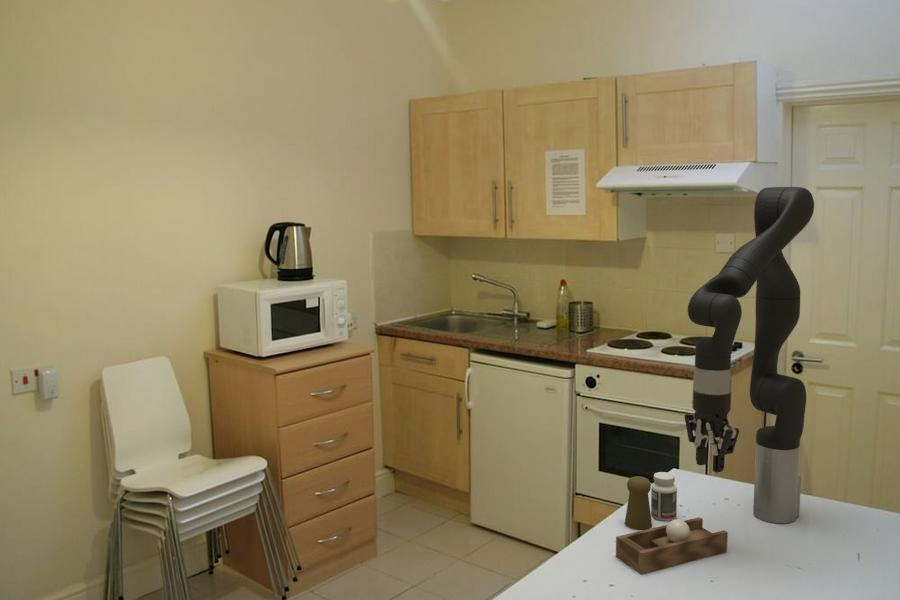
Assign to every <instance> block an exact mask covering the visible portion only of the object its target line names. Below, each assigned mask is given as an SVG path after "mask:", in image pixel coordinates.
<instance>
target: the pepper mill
mask: <svg viewBox="0 0 900 600" xmlns="http://www.w3.org/2000/svg"><path fill="white" fill-rule="evenodd" d="M626 486H627V490H628V492H629V493H628V501H627V505H626V506H627V507H626V512H625V518H624V519H625V521H624V525H625V527H626V528H628V529H630V530H634V531H643V530H647V529H651V528H652V526H653V523H652V515H651V504H650V497H649V493H650V492H651V488H652V484H651V481H650V479H648V477H647V478H646V477H644V476H638V475H636V476H632V477H630V478H628V480H627V483H626Z"/></svg>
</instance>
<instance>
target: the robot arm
mask: <svg viewBox="0 0 900 600" xmlns="http://www.w3.org/2000/svg"><path fill="white" fill-rule="evenodd" d="M814 199H815V198H814V196H813V194H812V193H811V191H810V190H809V189H807V188H805V187H802V186H773V187H771V186H770V187H764V188H762V189H761V190H760V191H759V192H758V193H757V195H756V198H755V202H754V208H753V209H754V210H753V211H754V212H753V215H754V217H753V219H754V234H755V237H754V238H753V239H751V240H749V241H748V242H746V243H744V244H743V245H742V246H739V248H738V249H737V250H736V251H734V252H733V253H732V254H731V256H730V257H729V259H728V260H727V261H726V263H725V264H724V266H723V267H722V268H721V269H720V271H719V272H718V274H716V275H714V277H712V278H711V279H709V280H708V281H706V283H705V284H703V285H702V286H701V287H699V288H698V289H697V290H696V291H695V292H694V293H693V294H692V296H691V298H690V299H689V302H688V304H687V316H688V318H689V320H690V321H691V322H692V323H693V324H694V325H698V326H703V327H709V328H714V331H713V334H712V336H710V337H709V336H708V337H707V336H706V337H703V338H699V339H698V340H697V341H696V343H695V348H694V349H695V350H694V351H695V353H694V370H693V371H694V372H693V376H692V377H693V378H692V381H693V383H692V409H693V411H694V412H693V413H687V414H686V413H685V415H684V420H685V427H686V432H687V433H686V434H687V438H688V439H687V440H688V442H689V443H693V445H694V447H695V462H696V464H697V465H698V466H705V465H707V463H708V446H707V445H708V443H709V444H710V445H712V451H713V452H712V453H713V455H712V472H714V473H717V474H718V473H722V472H723V471H724V470H725V459H726V458H725V457H726V455H731V454H733V453H734V450H735V447H736V443H737V441H738V437H739V433H740V429H739V428H737V427H732V426H731V425H730V421H729V420H728V415H729V413H730V411H731V408H732V407H731V403H732V372H731V367H732V366H731V364H732V348H733V344H734V341H735V337H736V335H737V332H738V328H739V325H740V323H741V319H742V314H743V311H742V305H741V303H740V301H739V298H742V297H745V296H746V295H747V294H748V293H749V292H750V291H751V289H752V287H753V286H755V285H754V284H755V283H756V287H755V333H754V334H755V335H754V351H753V359H752V366H751V374H750V382H749V383H750V384H749V399H750V402H751V405H752V406H753V407H754V408H755V409H756V410H758V411H760V412H763V413H766V414H769V415H770V414H771V415H773V416H775V421H774V425H767V426H762V427H760V428H759V429H757V431H756V434H755V459H754V483H753V484H754V485H753V486H754V487H753V505H752V506H753V511H752V512H753V516H755V517H756V518H758V519H760V520H762V521H765V522H767V523H774V524H789V523H792V522H794V521H796V520H797V518H798V517H800V507H801V488H802V478H801V476H800V475H799V463H800V462H799V461H800V445H801V437H802V436H803V433H804V428H805V427H804V426H805V425H804V423H805V415H806V407H807V390H806V386H805V384H804V382H803V381H802V380H801V379H800V378H797V377H794V376H789V375H784V374H780V373H778V361H779V355H780V352H781V348H782V347H783V345H784V343H785V342H786V340H788V338H789V337H790V335H791V334H792V333H793V331H794V329H795V328H796V326H797V325H798V322H799V319H800V315H801V287H800V284H799V282H798V279H797V278H796V275H795V273H794V272H793V270H792V269H791V266H790V265H789V263H788V261H787V260H786V257H785V255H784V253H783V250H784V249H785V247H787V246H788V245H789V244H790V242H791V241H793V240H794V239H795V238H796V237H797V236H798V235H799V234H800V233H801V232H802V231H803V230H804V228H806V226H807V225H808V224H809V222H810V221H811V219H812V217H813V216H814V215H813V214H814V210H815V201H814ZM693 431H694V433H693ZM716 438H717V439H716Z"/></svg>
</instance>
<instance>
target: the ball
mask: <svg viewBox="0 0 900 600" xmlns="http://www.w3.org/2000/svg"><path fill="white" fill-rule="evenodd" d="M684 521H685V520H682V519H679V518H675V519H673V520H670V521H668V523H667V524H666V525H667V527H666V534H667V536H668V538H669V539H670V540H671V541H673V542H679V541H683V540H687V539H688V538H689V535H690V529H689V526H688V525H687V524H686V523H685V522H684Z"/></svg>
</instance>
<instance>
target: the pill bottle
mask: <svg viewBox="0 0 900 600" xmlns="http://www.w3.org/2000/svg"><path fill="white" fill-rule="evenodd" d="M675 477H676V476H675V475H674V474H673V473H671V472H668V471H667V472H665V471H659V472H655V473H654V474H653V481H654V482H653V483H652V484H651V489H650V492H651V493H650V494H651V495H650V496H651V498H650V499H651V501H650V502H651V504H650V513H651V518H653V519H655V520H658V521H662V522H667V521H668V522H670V521H672V520H674V519H677V518H676V517H677V515H678V514H677V512H678V511H677V507H678V504H677V502H678V501H677V500H678V499H677V498H678V495H677V494H678V487H677V485H676V484H674V483H675V482H676V478H675Z"/></svg>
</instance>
